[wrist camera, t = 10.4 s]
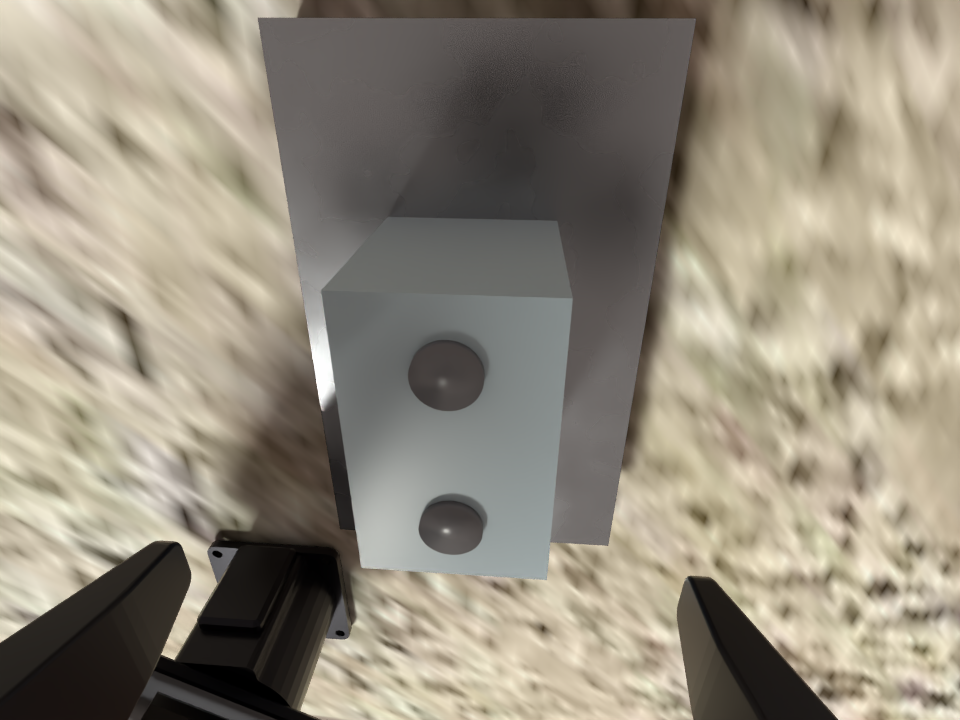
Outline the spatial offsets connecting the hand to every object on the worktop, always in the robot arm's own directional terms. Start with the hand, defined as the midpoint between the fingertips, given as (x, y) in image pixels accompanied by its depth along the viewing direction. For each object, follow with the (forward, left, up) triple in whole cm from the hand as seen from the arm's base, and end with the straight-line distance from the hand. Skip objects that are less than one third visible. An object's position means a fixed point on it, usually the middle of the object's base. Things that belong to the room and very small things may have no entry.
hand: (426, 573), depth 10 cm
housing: (0, 0, -9) cm, 9 cm away
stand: (0, 0, -12) cm, 12 cm away
